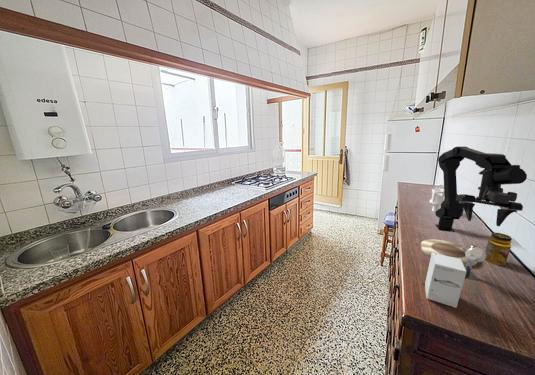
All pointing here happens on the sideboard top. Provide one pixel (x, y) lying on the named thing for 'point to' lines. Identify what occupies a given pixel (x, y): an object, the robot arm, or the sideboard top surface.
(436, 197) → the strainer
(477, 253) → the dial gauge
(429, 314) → the sideboard top surface
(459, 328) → the sideboard top surface
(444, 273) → the supplement box
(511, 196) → the robot arm
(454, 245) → the ring
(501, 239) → the condiment
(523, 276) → the sideboard top surface
